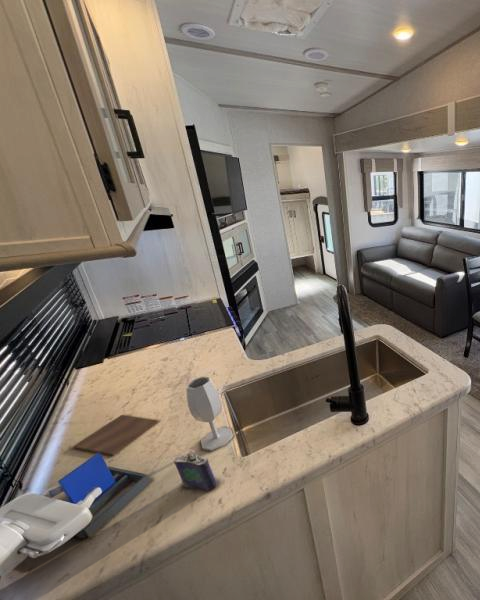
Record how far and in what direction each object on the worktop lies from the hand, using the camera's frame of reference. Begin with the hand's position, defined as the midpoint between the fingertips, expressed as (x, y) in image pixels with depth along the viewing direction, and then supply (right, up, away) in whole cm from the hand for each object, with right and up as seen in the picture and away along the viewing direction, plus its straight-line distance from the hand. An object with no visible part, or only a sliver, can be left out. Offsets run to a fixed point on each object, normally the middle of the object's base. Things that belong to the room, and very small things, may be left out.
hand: (84, 485), depth 73 cm
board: (-15, +1, +25) cm, 30 cm away
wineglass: (+20, +1, +21) cm, 29 cm away
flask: (+24, -4, +6) cm, 25 cm away
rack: (+1, -6, +3) cm, 7 cm away
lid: (+1, -6, +3) cm, 7 cm away
